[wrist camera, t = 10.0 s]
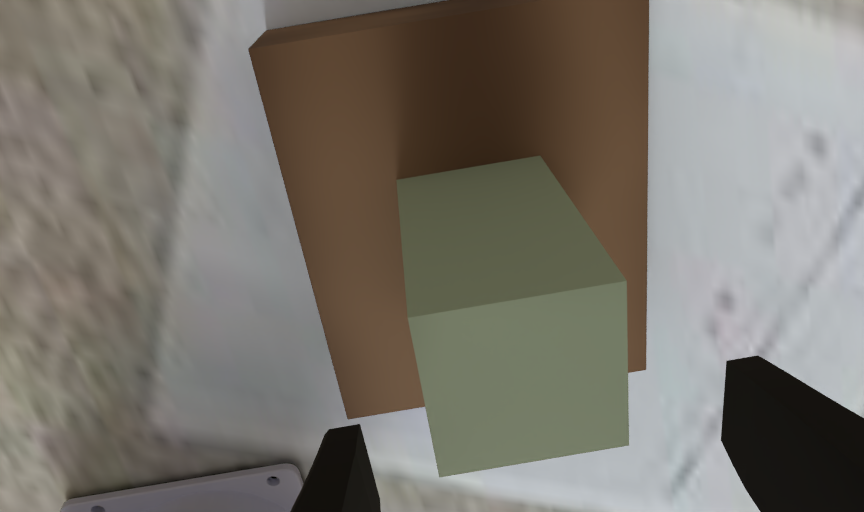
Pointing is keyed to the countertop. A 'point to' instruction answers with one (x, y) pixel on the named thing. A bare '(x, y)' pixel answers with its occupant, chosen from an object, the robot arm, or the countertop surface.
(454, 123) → the plinth
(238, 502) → the robot arm
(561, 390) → the block
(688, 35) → the countertop surface
